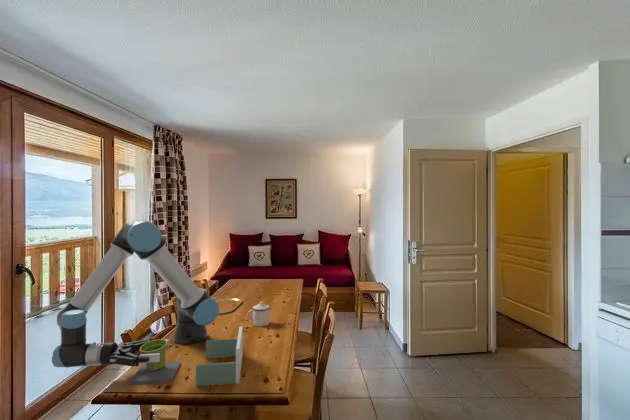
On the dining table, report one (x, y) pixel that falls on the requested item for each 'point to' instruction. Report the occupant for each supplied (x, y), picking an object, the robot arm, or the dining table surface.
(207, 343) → the grey-green angled panels
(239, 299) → the brass wire loop
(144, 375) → the slate mat
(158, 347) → the plant pot
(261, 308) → the teacup with lid
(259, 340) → the dining table surface
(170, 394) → the dining table surface
